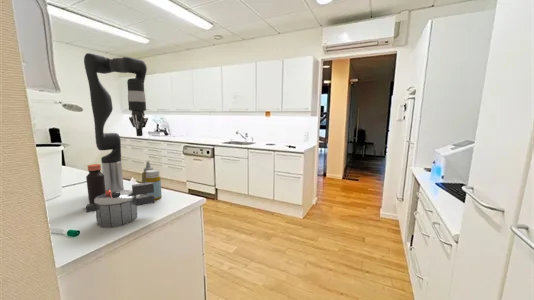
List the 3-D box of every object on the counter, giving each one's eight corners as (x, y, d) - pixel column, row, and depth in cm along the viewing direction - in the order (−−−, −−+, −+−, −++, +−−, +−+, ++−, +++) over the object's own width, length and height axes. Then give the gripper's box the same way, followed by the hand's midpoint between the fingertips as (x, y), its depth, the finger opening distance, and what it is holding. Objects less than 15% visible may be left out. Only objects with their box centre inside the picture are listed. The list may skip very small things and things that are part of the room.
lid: (93, 208, 85) (92, 196, 84) (95, 196, 97) (94, 186, 96) (156, 197, 97) (155, 187, 96) (151, 188, 109) (150, 178, 108)
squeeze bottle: (147, 196, 124) (144, 163, 121) (139, 193, 128) (136, 161, 125) (161, 192, 131) (159, 161, 128) (152, 189, 135) (150, 159, 132)
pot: (85, 232, 86) (82, 210, 84) (91, 218, 98) (89, 198, 96) (156, 219, 97) (154, 199, 96) (154, 207, 109) (152, 189, 108)
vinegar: (107, 206, 110) (103, 165, 107) (89, 209, 106) (84, 167, 103) (106, 201, 116) (102, 163, 113) (89, 204, 112) (85, 164, 109)
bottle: (144, 199, 120) (141, 171, 117) (155, 195, 126) (154, 168, 123) (152, 201, 116) (150, 173, 114) (164, 197, 123) (162, 170, 120)
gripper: (121, 100, 113) (124, 135, 116) (137, 100, 106) (140, 137, 109) (136, 101, 119) (139, 134, 122) (152, 101, 113) (154, 136, 115)
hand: (139, 136), depth 115 cm, fingers closed
